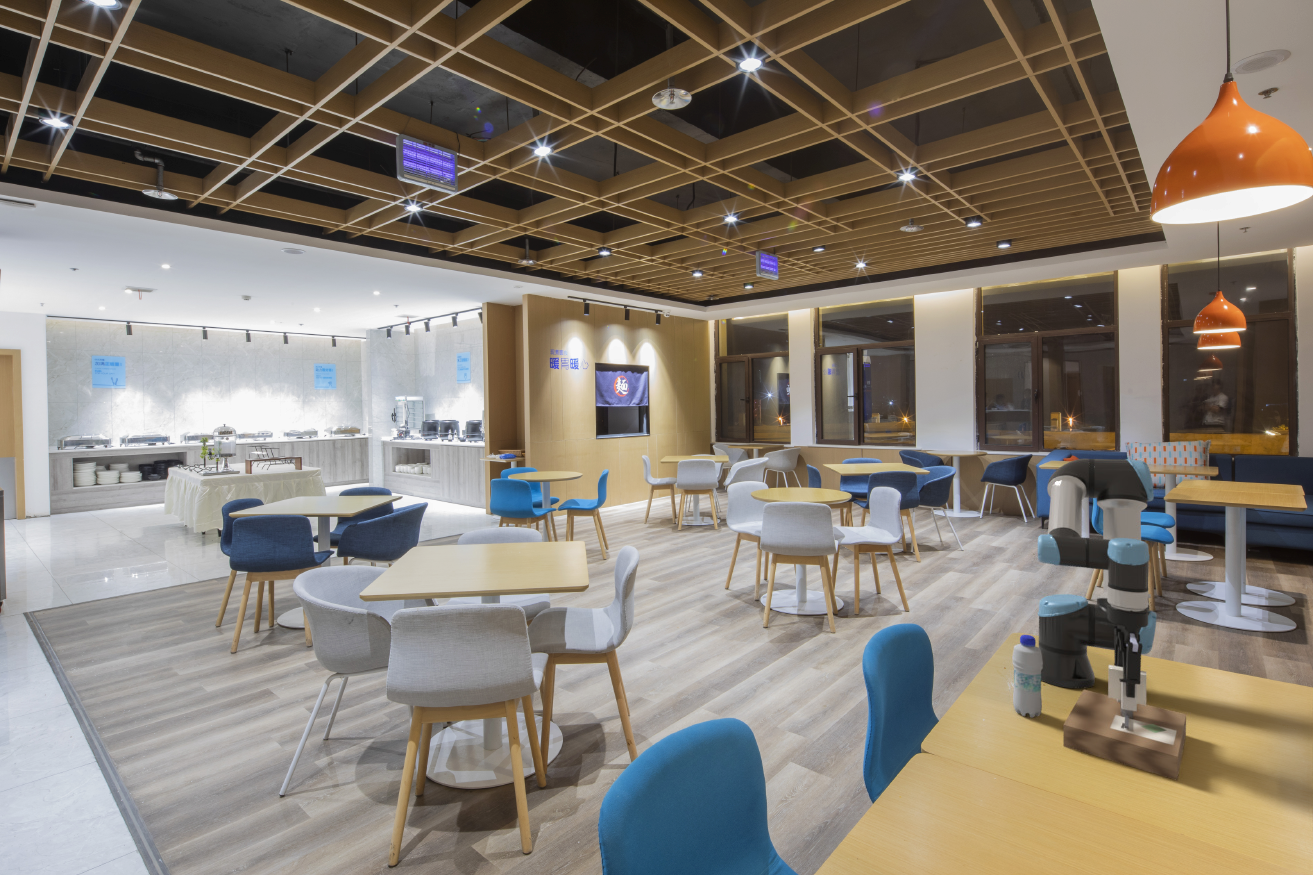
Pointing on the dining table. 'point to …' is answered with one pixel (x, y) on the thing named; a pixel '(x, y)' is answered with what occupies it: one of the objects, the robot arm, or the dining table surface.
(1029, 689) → the bottle
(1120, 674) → the white box with rod
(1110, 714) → the wooden box with sign
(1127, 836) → the dining table surface
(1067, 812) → the dining table surface
